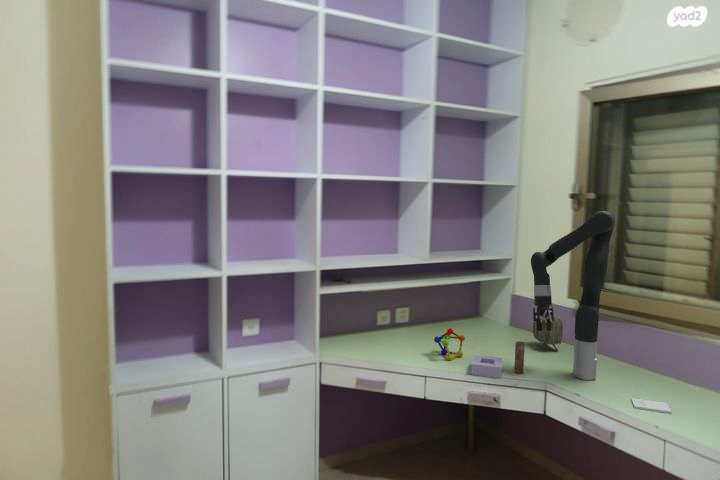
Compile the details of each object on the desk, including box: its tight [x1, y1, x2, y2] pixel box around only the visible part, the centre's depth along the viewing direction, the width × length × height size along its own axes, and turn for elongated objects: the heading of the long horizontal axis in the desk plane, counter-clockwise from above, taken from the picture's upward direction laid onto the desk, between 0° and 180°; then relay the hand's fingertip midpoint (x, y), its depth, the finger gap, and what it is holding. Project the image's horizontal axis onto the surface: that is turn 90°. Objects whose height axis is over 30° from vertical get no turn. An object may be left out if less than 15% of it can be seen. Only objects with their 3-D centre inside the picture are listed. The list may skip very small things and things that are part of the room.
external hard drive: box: [630, 397, 672, 415], centre depth 189 cm, size 2×8×12 cm
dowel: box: [513, 341, 526, 375], centre depth 222 cm, size 4×4×14 cm
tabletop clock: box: [532, 304, 564, 352], centre depth 256 cm, size 14×9×25 cm, turn 9°
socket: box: [470, 354, 503, 379], centre depth 223 cm, size 13×13×5 cm
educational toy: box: [433, 327, 466, 361], centre depth 242 cm, size 16×13×15 cm
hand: (544, 330), depth 221 cm, fingers open, 8 cm apart
